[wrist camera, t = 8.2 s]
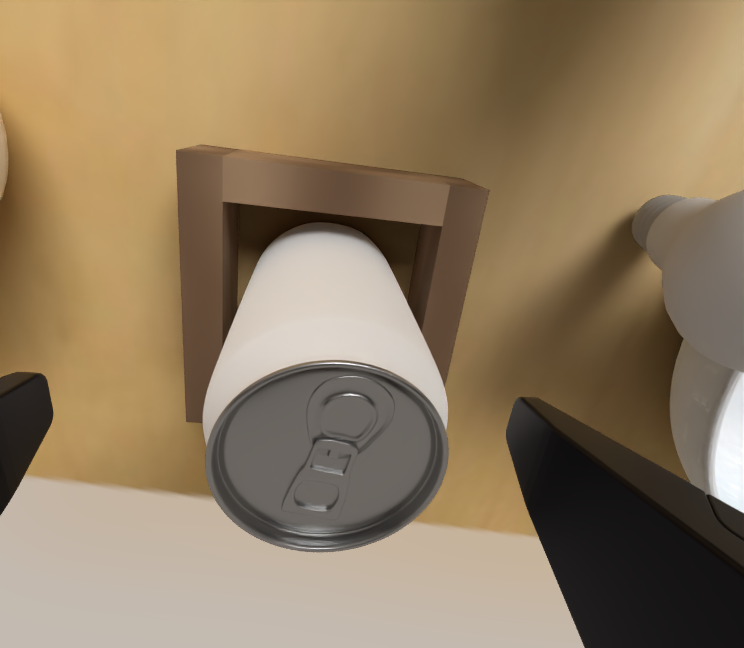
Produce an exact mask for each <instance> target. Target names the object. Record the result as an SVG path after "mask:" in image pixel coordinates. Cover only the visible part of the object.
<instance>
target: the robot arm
mask: <svg viewBox="0 0 744 648" xmlns="http://www.w3.org/2000/svg"><path fill="white" fill-rule="evenodd" d="M52 420H53V407H52V402H51V397H50V392H49V387H48V382H47V379H46V377H45V376H44V375H43V374H41V373H33V372H15V373H12V374H9V375H6V376H3V377H0V515H1V514H2V512H3V511H4V509H5V508H6V506H7V505H8V503H9V502H10V500H11V498H12V496H13V495H14V493H15V491H16V490H17V488H18V486H19V484H20V482H21V481H22V479H23V477H24V475H25V473H26V471H27V469H28V467H29V465H30V463H31V462H32V460H33V458H34V456H35V454H36V452H37V450H38V448H39V446H40V445H41V443H42V441H43V439H44V437H45V435H46V433H47V431H48V429H49V427H50V425H51V423H52ZM506 440H507V444H508V447H509V451H510V454H511V457H512V461H513V464H514V468H515V471H516V474H517V478H518V481H519V485H520V488H521V491H522V495H523V498H524V501H525V504H526V507H527V509H528V512H529V515H530V517H531V520H532V522H533V524H534V527H535V529H536V532H537V534H538V536H539V539H540V541H541V544H542V546H543V548H544V551H545V553H546V556H547V558H548V560H549V563H550V565H551V568H552V570H553V572H554V575H555V577H556V580H557V582H558V584H559V587H560V589H561V592H562V594H563V596H564V599H565V601H566V604H567V606H568V609H569V611H570V613H571V616H572V618H573V621H574V623H575V625H576V628H577V630H578V633H579V635H580V637H581V640H582V642H583V645H584V647H585V648H744V513H743V512H741V511H739V510H737V509H735V508H734V507H732V506H730V505H728V504H726V503H725V502H723V501H721V500H719V499H717V498H716V497H714V496H712V495H710V494H707V495H706V493H705V492H704V491H703V490H701V489H699V488H698V487H696V486H694V485H692V484H691V483H689V482H687V481H685V480H683V479H682V478H680V477H678V476H676V475H674V474H673V473H671V472H669V471H667V470H666V469H664V468H662V467H660V466H658V465H657V464H655V463H653V462H651V461H649V460H648V459H646V458H644V457H642V456H641V455H639V454H637V453H635V452H633V451H632V450H630V449H628V448H626V447H624V446H623V445H621V444H619V443H617V442H616V441H614V440H612V439H610V438H608V437H607V436H605V435H603V434H601V433H599V432H598V431H596V430H594V429H592V428H591V427H589V426H587V425H585V424H583V423H582V422H580V421H578V420H576V419H574V418H573V417H571V416H569V415H567V414H566V413H564V412H562V411H560V410H558V409H557V408H555V407H553V406H551V405H550V404H548V403H546V402H544V401H542V400H541V399H539V398H535V397H519V398H517V399H516V401H515V403H514V405H513V409H512V412H511V416H510V419H509V422H508V426H507V430H506Z"/></svg>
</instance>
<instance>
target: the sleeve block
mask: <svg viewBox="0 0 744 648" xmlns="http://www.w3.org/2000/svg"><path fill="white" fill-rule="evenodd" d="M176 165H177V191H178V217H179V244H180V270H181V296H182V322H183V349H184V375H185V401H186V422H196V423H203V408H204V402H205V397H206V393H207V389H208V386H209V383H210V380H211V377H212V374H213V372H214V369H215V366H216V364H217V361H218V358H219V356H220V353H221V351H222V348H223V346H224V343H225V341H226V338H227V336H228V333H229V330H230V328H231V325H232V323H233V320H234V318H235V316H236V313H237V287H238V217H239V203H241V204H250V205H258V206H267V207H276V208H285V209H294V210H302V211H311V212H320V213H329V214H338V215H346V216H355V217H364V218H373V219H382V220H390V221H399V222H408V223H417V224H421V227H420V232H419V238H418V244H417V250H416V255H415V261H414V267H413V272H412V278H411V284H410V290H409V295H408V301H407V303H408V305H409V307H410V309H411V312H412V314H413V316H414V318H415V320H416V322H417V324H418V326H419V328H420V331H421V333H422V335H423V337H424V339H425V341H426V343H427V346H428V348H429V350H430V352H431V354H432V357H433V359H434V361H435V363H436V366H437V368H438V371H439V373H440V376H441V378H442V381H443V384H444V388H445V383H446V379H447V375H448V370H449V366H450V361H451V357H452V353H453V348H454V344H455V340H456V335H457V331H458V326H459V322H460V318H461V313H462V309H463V304H464V300H465V296H466V291H467V287H468V282H469V278H470V274H471V269H472V265H473V260H474V256H475V252H476V247H477V243H478V239H479V234H480V230H481V225H482V221H483V217H484V212H485V208H486V203H487V199H488V195H489V190H487V189H485V188H483V187H481V186H478V185H476V184H474V183H471V182H469V181H467V180H465V179H461V178H453V177H446V176H438V175H430V174H423V173H415V172H407V171H400V170H392V169H384V168H377V167H369V166H361V165H354V164H346V163H338V162H331V161H323V160H315V159H308V158H300V157H292V156H285V155H277V154H269V153H262V152H254V151H246V150H239V149H231V148H223V147H215V146H208V145H197V146H193V147H189V148H184V149H180V150H176Z"/></svg>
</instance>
